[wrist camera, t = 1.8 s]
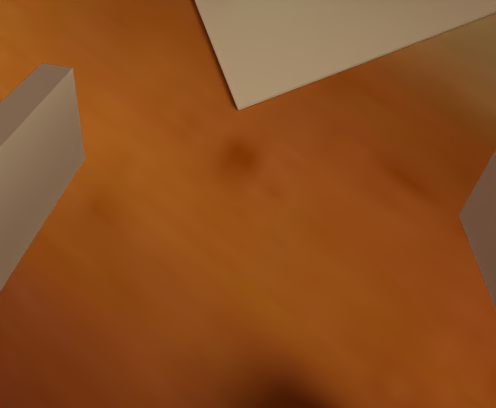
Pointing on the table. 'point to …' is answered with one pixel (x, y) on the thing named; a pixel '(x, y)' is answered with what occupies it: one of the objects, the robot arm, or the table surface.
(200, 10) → the card
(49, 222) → the table surface
